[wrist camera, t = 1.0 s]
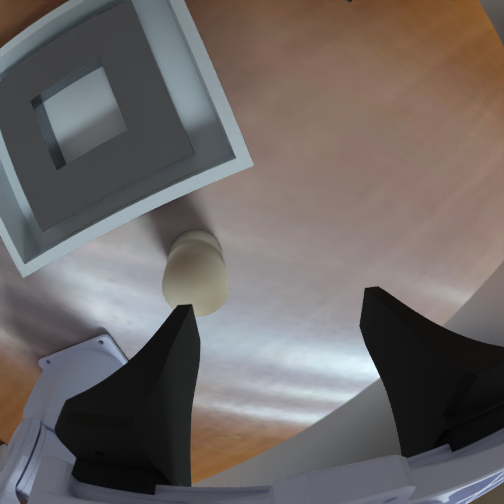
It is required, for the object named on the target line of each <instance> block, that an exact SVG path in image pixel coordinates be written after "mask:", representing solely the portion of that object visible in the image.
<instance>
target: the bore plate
mask: <svg viewBox="0 0 504 504" xmlns="http://www.w3.org/2000/svg"><path fill="white" fill-rule="evenodd" d="M102 66H103V68H104V71H105V73H106V76H107V79H108V81H109V84H110V87H111V89H112V92H113V94H114V97H115V99H116V102H117V104H118V107H119V109H120V112H121V114H122V117H123V119H124V121H125V124H126V126H127V129H128V130H127V131H125V132H123V133H121V134H119V135H117V136H115V137H113V138H112V139H110V140H108V141H106V142H104V143H102V144H101V145H99V146H97V147H95V148H94V149H92V150H90V151H88V152H87V153H85V154H83V155H81V156H80V157H78V158H76V159H75V160H73V161H72V162H70V163H68V164H66V162H65V159H64V157H63V155H62V152H61V150H60V147H59V145H58V142H57V140H56V137H55V134H54V132H53V129H52V126H51V124H50V121H49V118H48V115H47V113H46V110H45V107H44V104H43V102H45V101H46V100H48V99H49V98H51V97H52V96H54V95H55V94H57V93H58V92H60V91H61V90H63V89H65V88H66V87H68V86H69V85H71V84H73V83H74V82H76V81H78V80H79V79H81V78H83V77H84V76H86V75H88V74H89V73H91V72H93V71H95V70H97V69H98V68H100V67H102ZM0 130H1V134H2V137H3V140H4V143H5V145H6V148H7V151H8V154H9V157H10V159H11V162H12V165H13V167H14V170H15V172H16V175H17V177H18V180H19V182H20V185H21V187H22V190H23V192H24V194H25V197H26V199H27V201H28V203H29V205H30V208H31V210H32V212H33V214H34V216H35V218H36V221H37V223H38V225H39V227H40V229H41V231H42V233H43V232H45V231H47V230H48V229H50V228H52V227H53V226H55V225H56V224H58V223H60V222H61V221H63V220H65V219H67V218H68V217H70V216H72V215H73V214H75V213H77V212H79V211H80V210H82V209H84V208H86V207H87V206H89V205H91V204H93V203H95V202H96V201H98V200H100V199H102V198H104V197H106V196H108V195H109V194H111V193H113V192H115V191H117V190H119V189H121V188H123V187H125V186H127V185H129V184H131V183H133V182H135V181H137V180H139V179H141V178H143V177H145V176H147V175H149V174H151V173H153V172H155V171H157V170H159V169H162V168H164V167H166V166H168V165H170V164H172V163H175V162H177V161H179V160H181V159H183V158H186V157H188V156H190V155H193V154H194V153H195V152H194V149H193V147H192V144H191V142H190V140H189V137H188V135H187V133H186V130H185V128H184V126H183V123H182V121H181V118H180V116H179V114H178V111H177V109H176V106H175V104H174V102H173V99H172V97H171V94H170V92H169V90H168V87H167V85H166V82H165V80H164V78H163V75H162V73H161V70H160V68H159V66H158V63H157V61H156V58H155V56H154V53H153V51H152V49H151V46H150V44H149V41H148V39H147V36H146V34H145V31H144V29H143V26H142V24H141V21H140V19H139V17H138V14H137V12H136V9H135V7H134V5H133V3H132V1H131V0H129V1H127V2H125V3H122V4H120V5H118V6H116V7H114V8H112V9H110V10H108V11H106V12H104V13H102V14H100V15H98V16H96V17H94V18H92V19H90V20H89V21H87V22H85V23H83V24H81V25H80V26H78V27H76V28H75V29H73V30H71V31H69V32H68V33H66V34H65V35H63V36H61V37H60V38H58V39H57V40H55V41H53V42H52V43H50V44H49V45H47V46H46V47H44V48H43V49H41V50H40V51H39V52H37V53H36V54H34V55H33V56H32V57H30V58H29V59H27V60H26V61H25V62H23V63H22V64H21V65H19V66H18V67H17V68H16V69H14V70H13V71H12V72H10V73H9V74H8V75H7V76H6V77H4V78H3V79H2V80H1V81H0Z"/></svg>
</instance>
